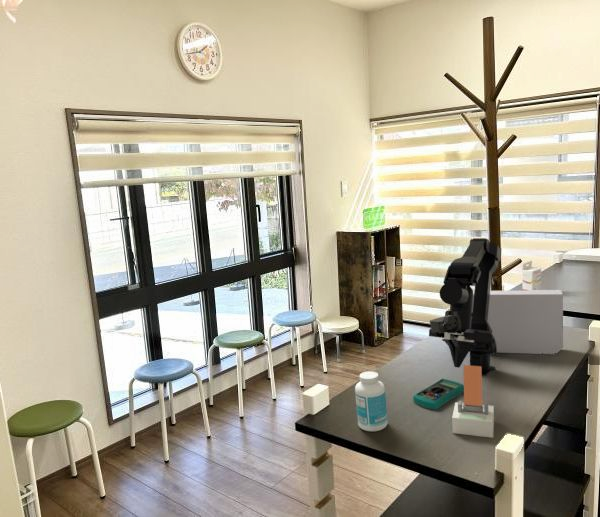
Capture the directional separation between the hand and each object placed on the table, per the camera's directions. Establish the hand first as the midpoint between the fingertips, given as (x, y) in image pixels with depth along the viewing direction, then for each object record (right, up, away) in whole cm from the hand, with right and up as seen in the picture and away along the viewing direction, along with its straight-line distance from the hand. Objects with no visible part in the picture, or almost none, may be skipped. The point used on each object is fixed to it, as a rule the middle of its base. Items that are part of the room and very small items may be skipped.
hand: (456, 367), depth 132 cm
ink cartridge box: (+65, +12, +97) cm, 117 cm away
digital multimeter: (-3, -10, +6) cm, 12 cm away
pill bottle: (-23, -14, -6) cm, 27 cm away
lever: (0, -7, -12) cm, 14 cm away
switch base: (+1, -12, -11) cm, 16 cm away
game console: (+30, -2, +34) cm, 45 cm away
